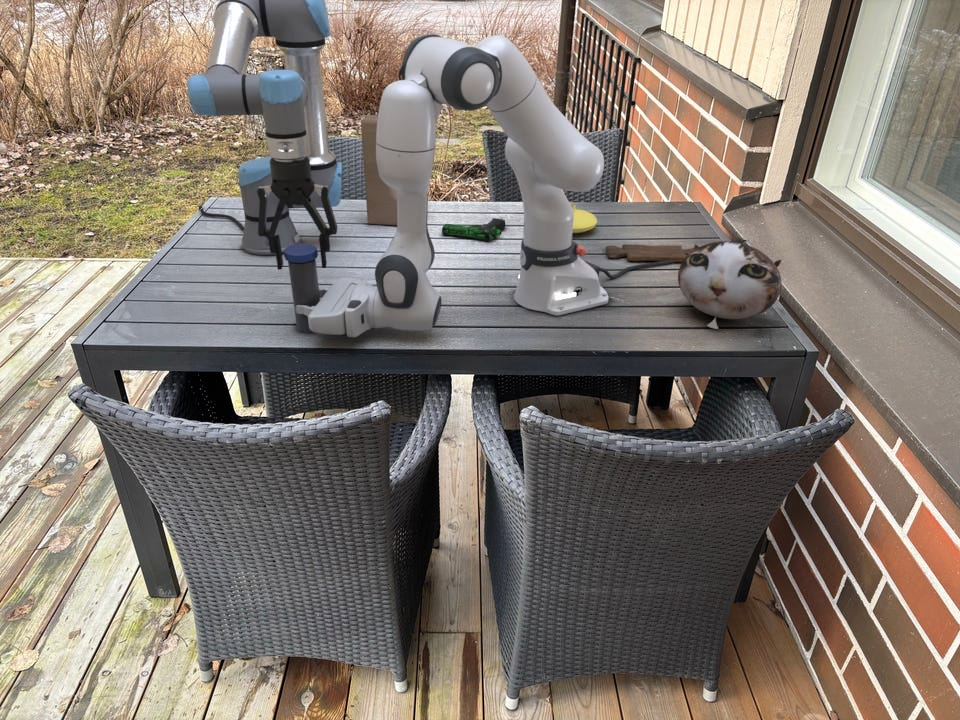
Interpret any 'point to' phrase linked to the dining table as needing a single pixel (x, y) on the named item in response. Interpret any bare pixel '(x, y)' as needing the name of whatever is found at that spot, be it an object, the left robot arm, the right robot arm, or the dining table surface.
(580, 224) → the yellow thick rounded disc
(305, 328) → the jar
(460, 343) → the dining table surface
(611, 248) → the brown notched plank
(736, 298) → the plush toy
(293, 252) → the lid
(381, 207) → the decorative block
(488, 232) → the handgun
